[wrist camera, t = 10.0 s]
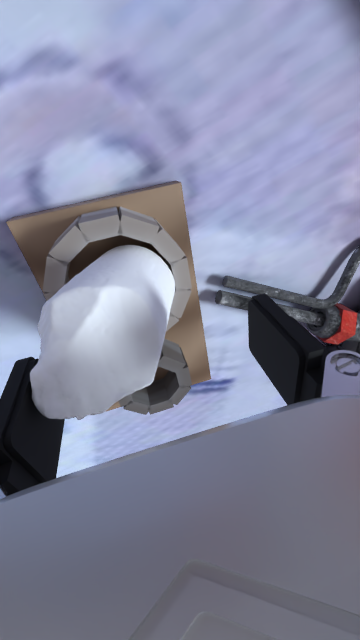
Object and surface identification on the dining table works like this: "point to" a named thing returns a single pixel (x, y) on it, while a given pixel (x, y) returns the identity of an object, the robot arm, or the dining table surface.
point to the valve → (322, 319)
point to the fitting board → (117, 230)
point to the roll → (102, 334)
